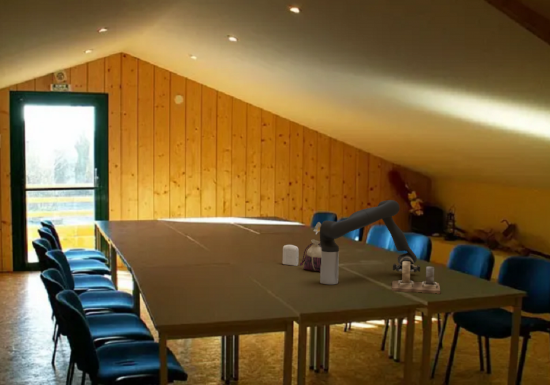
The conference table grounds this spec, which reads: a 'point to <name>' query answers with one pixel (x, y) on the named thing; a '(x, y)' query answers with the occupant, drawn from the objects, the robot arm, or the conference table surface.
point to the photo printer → (290, 255)
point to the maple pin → (406, 272)
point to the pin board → (419, 284)
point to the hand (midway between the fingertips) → (406, 270)
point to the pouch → (312, 256)
